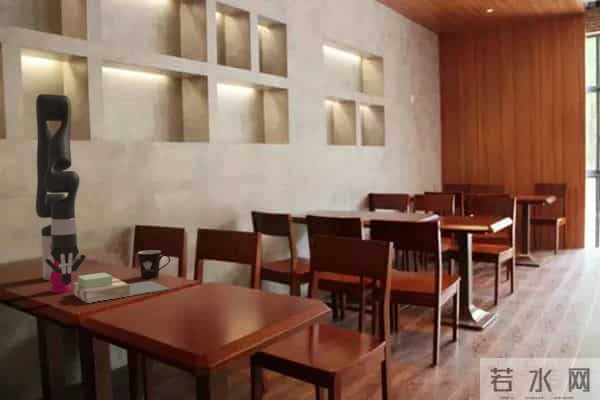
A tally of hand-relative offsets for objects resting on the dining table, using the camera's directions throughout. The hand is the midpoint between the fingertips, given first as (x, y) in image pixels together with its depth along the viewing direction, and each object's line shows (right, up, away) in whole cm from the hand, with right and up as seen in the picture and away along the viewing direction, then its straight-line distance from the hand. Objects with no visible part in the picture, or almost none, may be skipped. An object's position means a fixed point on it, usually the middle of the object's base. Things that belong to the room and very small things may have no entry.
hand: (66, 284), depth 178 cm
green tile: (+7, -1, +6) cm, 9 cm away
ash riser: (+9, -5, +7) cm, 12 cm away
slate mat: (+20, -4, +16) cm, 26 cm away
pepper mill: (-8, -5, +14) cm, 17 cm away
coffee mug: (+19, -3, +35) cm, 40 cm away
